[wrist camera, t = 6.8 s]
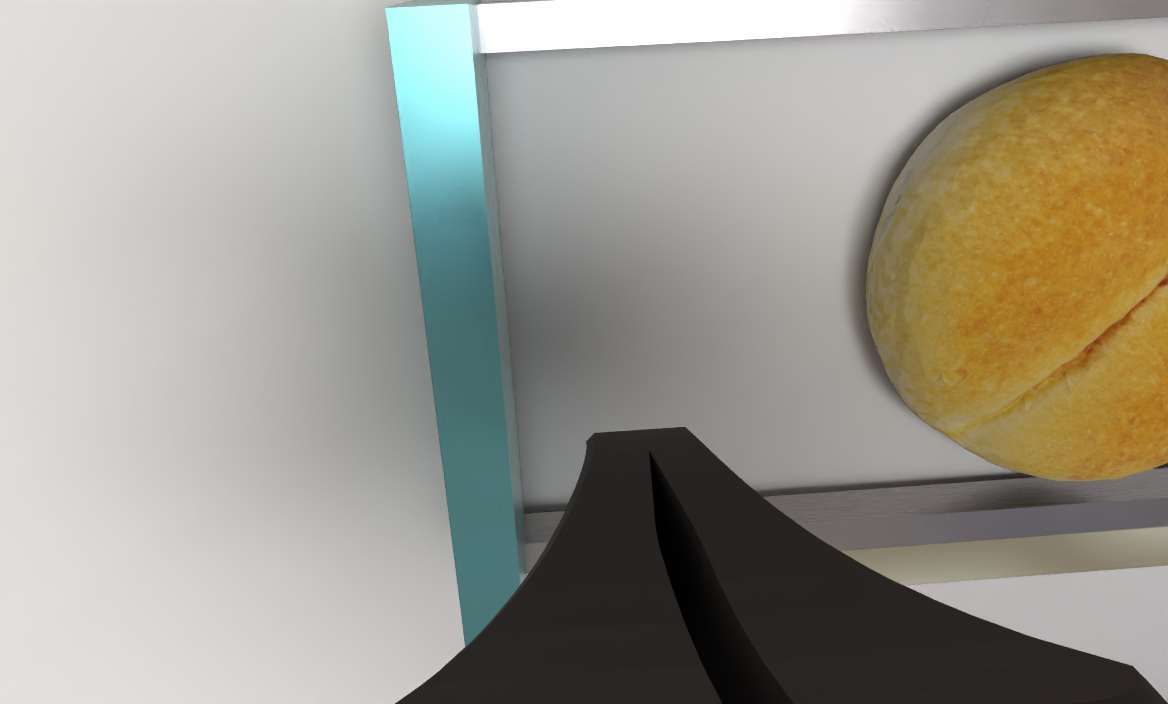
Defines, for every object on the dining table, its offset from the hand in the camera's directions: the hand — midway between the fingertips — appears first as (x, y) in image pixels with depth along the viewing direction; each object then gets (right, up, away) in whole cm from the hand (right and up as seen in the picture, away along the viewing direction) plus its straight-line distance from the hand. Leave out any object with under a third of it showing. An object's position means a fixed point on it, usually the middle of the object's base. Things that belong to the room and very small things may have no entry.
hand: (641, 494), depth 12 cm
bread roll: (+10, +4, +8) cm, 13 cm away
